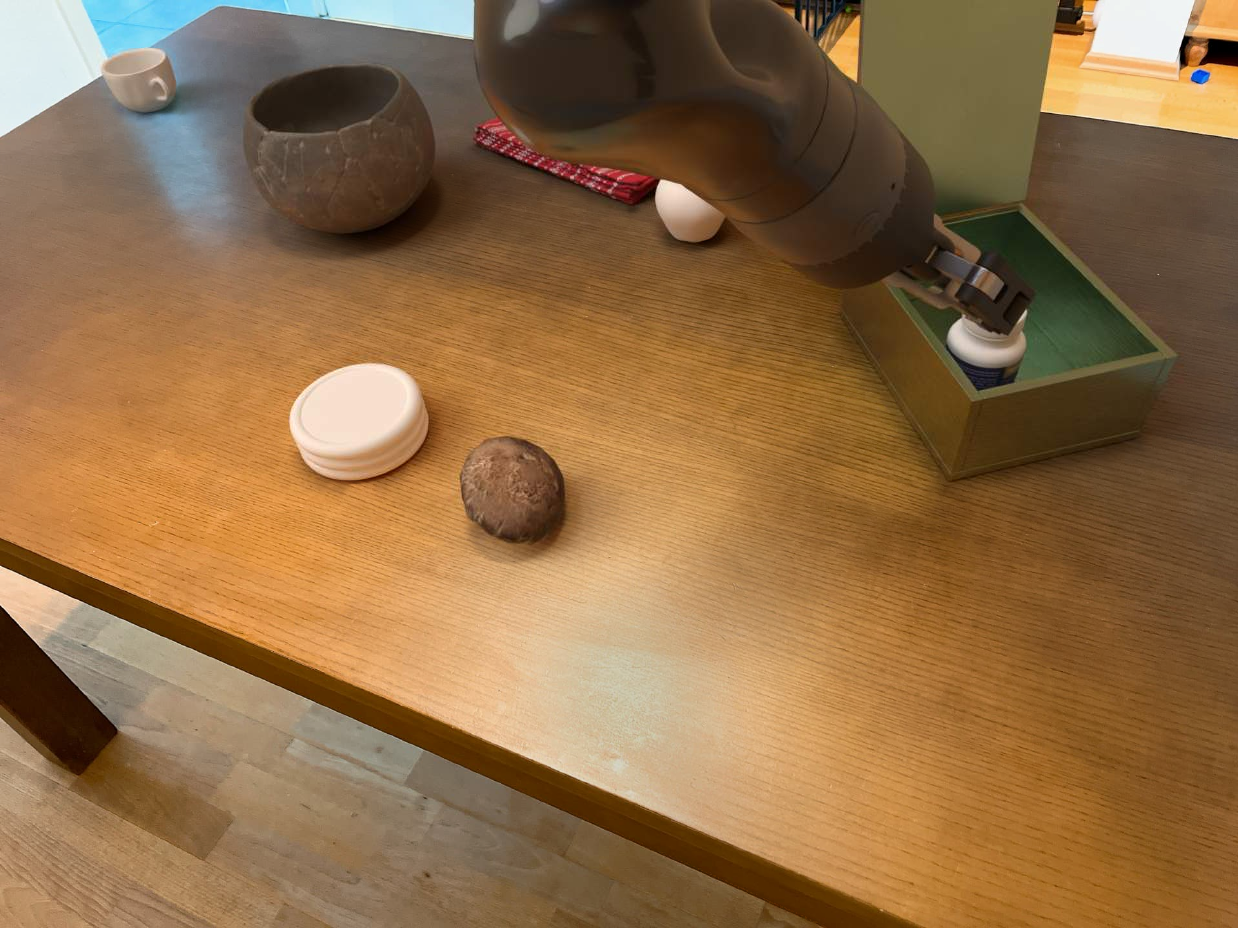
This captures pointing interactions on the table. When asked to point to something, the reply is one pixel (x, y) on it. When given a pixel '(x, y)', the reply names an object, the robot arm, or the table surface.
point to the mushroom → (512, 490)
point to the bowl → (339, 146)
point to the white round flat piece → (359, 421)
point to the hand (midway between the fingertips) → (934, 282)
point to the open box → (1050, 369)
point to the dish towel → (566, 165)
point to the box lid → (961, 89)
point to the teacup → (141, 79)
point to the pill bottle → (986, 353)
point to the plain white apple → (686, 213)
